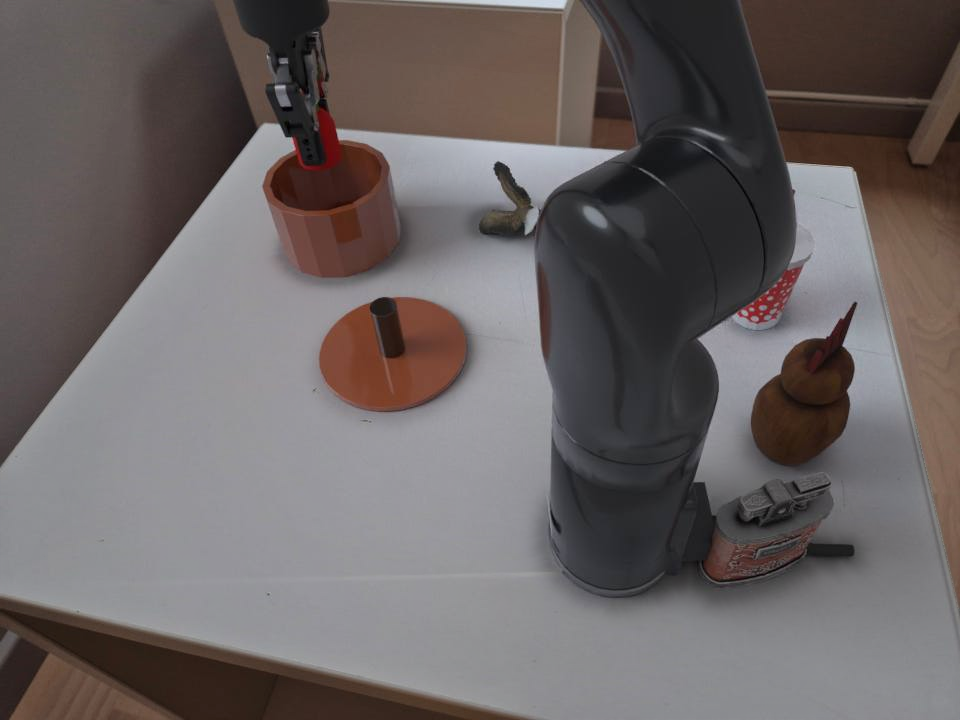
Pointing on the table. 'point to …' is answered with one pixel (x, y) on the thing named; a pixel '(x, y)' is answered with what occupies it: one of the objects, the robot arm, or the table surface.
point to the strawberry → (325, 141)
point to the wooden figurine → (806, 399)
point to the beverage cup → (778, 288)
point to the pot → (335, 211)
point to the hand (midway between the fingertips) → (319, 148)
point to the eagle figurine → (510, 220)
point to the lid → (392, 354)
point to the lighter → (766, 531)
